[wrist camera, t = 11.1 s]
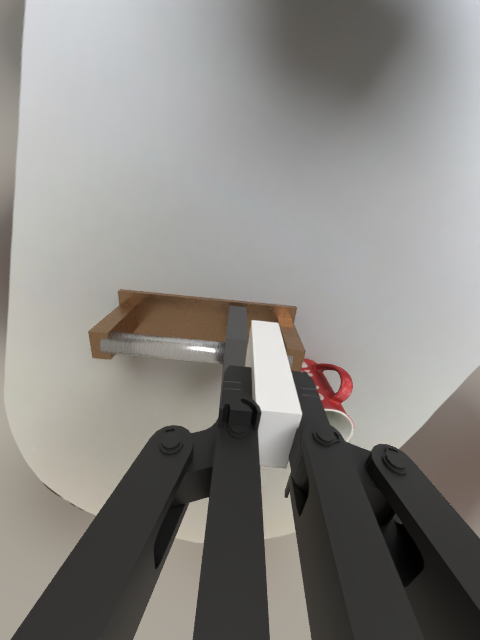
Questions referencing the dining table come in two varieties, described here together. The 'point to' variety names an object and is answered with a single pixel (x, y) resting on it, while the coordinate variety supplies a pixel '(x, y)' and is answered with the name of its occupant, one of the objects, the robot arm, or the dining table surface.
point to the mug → (332, 395)
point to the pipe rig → (183, 328)
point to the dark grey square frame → (235, 339)
